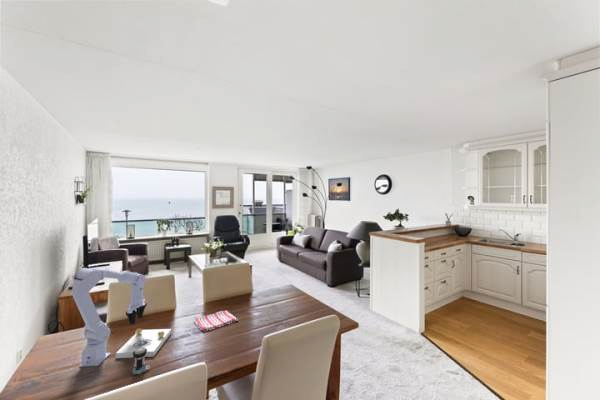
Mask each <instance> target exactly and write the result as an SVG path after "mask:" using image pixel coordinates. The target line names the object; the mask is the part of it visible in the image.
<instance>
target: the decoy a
mask: <svg viewBox="0 0 600 400" xmlns="http://www.w3.org/2000/svg"><path fill="white" fill-rule="evenodd" d="M142 330H143V328H140V327H139V328H137V329H136V330H135V332H134V333H135V334H137V335H139V334H141V333H142Z"/></svg>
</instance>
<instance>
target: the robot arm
mask: <svg viewBox="0 0 600 400" xmlns="http://www.w3.org/2000/svg"><path fill="white" fill-rule="evenodd" d="M106 278H108V279H114V280H117V282H118V283H123V284H128V285H129V284H130V285H131V286H130V304H129V307H128V309H127V311H125V315H126V316H127V319H128V322H129V325H131V326H132V325H135V324H136V321H137V319H142V318H143V317H144V312H145V309H146V307H147V305H148V303H146V298H144V287H145V283H146V282H147V278H146V275H145V274H141V273H138V272H137V271H135V272H132V271H130V270H129V269H127V270H126V269H125V270H122V271H120V272H118V271H117V272H116V271H112V270H109V269H108V270H107V269H102V268H95V267H92V268H91V267H90V268H88V267H82V268H80V269H78V270H77V271H76V272H75V274H74V275H73V277H72V281H73V284H72V288H71V289H72V290H71V295H72V299H73V300H74V302H75V305H76V307H77V309H78V311H79V313H80V315H81V317H82V319H83V322H84V324H85V325H84V326H83V329H84V332H83V335H84V338H86V341H87V342H86V345H85V347H84V349H82V351H81V359H80V360H81V362H80V364H79V365H78V367H97V366H99V365H100V364H101V363H103V361H105V360H106V359H107V358H108V357H109V356H110V355H111V352H107V340H108V338H109V337H110V335H111V328H109V327H108V326H107V325H106V324H105V322H104V321H102V320H101V318H100V315H99V313H98V311H97V309H96V306H95V304H94V301H93V299H92V297H91V295H90V291H92V289H93V288H94V287H95V286H96V285H97V284H98V283H99V282H100V281H103V280H104V279H106Z"/></svg>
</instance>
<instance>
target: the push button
mask: <svg viewBox="0 0 600 400" xmlns="http://www.w3.org/2000/svg"><path fill="white" fill-rule="evenodd" d="M146 352H147V349H146V348H144V347H140V348H137V349H136V350H135V351H134V352H133V358H134V365H133V367H132V375H133V376H134V375H140V374H142V373H145V372H146V371H147V370H149V369H150V365H147V363H146V362H145V357H144V356H145V355H146Z"/></svg>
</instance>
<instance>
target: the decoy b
mask: <svg viewBox="0 0 600 400" xmlns="http://www.w3.org/2000/svg"><path fill="white" fill-rule="evenodd" d="M157 336H158V337H159V338H161V337H163V336H164V332H163V331H160V332H159V333H158V335H157Z"/></svg>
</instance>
